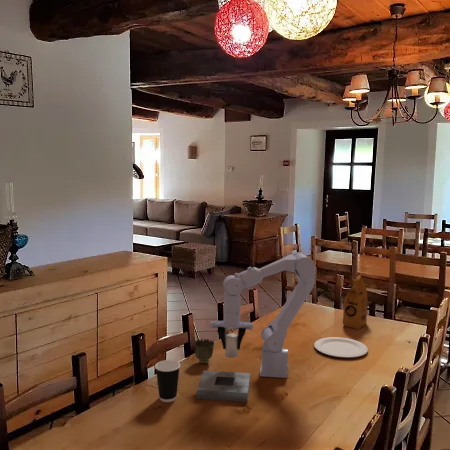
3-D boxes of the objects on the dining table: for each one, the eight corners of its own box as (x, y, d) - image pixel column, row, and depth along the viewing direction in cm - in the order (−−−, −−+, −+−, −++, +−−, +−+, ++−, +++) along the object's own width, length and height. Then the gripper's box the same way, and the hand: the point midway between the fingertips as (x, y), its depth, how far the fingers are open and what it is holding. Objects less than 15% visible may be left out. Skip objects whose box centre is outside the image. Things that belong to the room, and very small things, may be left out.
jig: (250, 381, 163) (250, 373, 162) (247, 402, 149) (247, 392, 149) (203, 378, 165) (203, 370, 164) (196, 398, 151) (196, 389, 150)
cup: (211, 367, 173) (211, 346, 172) (191, 365, 175) (191, 344, 174) (215, 359, 180) (215, 339, 179) (196, 357, 182) (196, 337, 181)
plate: (309, 355, 186) (309, 351, 186) (319, 337, 205) (319, 333, 205) (364, 364, 178) (364, 360, 178) (370, 345, 197) (370, 341, 197)
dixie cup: (185, 397, 152) (185, 364, 150) (168, 407, 145) (168, 372, 144) (167, 390, 156) (166, 357, 155) (149, 399, 150) (149, 366, 148)
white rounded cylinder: (238, 352, 169) (238, 333, 169) (237, 357, 165) (237, 338, 164) (225, 352, 170) (226, 333, 169) (224, 357, 166) (224, 337, 165)
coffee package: (338, 325, 219) (340, 278, 216) (349, 318, 229) (351, 273, 226) (360, 330, 213) (362, 282, 210) (369, 323, 223) (372, 276, 220)
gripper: (209, 313, 162) (209, 351, 164) (252, 315, 161) (251, 354, 162) (212, 307, 169) (212, 343, 171) (253, 308, 168) (252, 346, 169)
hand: (231, 348), depth 167 cm, fingers closed on white rounded cylinder, 4 cm apart
